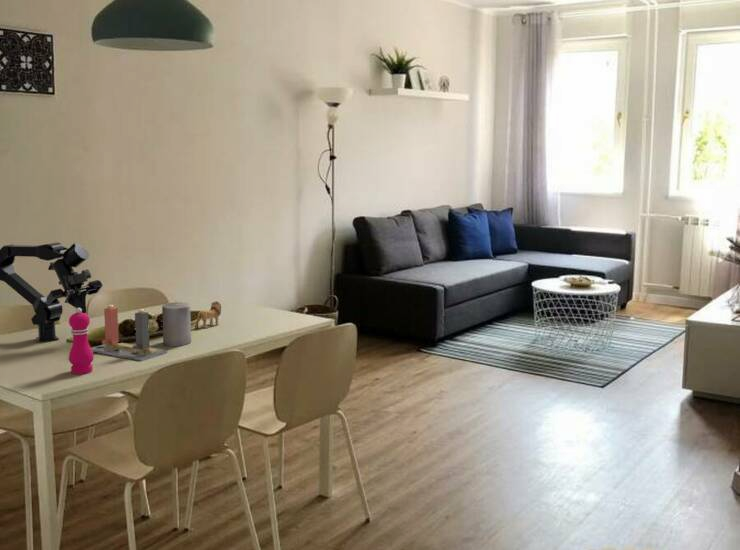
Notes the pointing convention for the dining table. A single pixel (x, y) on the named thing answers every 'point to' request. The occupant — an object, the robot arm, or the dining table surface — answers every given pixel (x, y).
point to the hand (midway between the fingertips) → (84, 313)
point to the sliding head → (111, 326)
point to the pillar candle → (176, 324)
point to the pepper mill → (80, 344)
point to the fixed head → (141, 330)
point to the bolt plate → (128, 351)
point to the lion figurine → (209, 314)
